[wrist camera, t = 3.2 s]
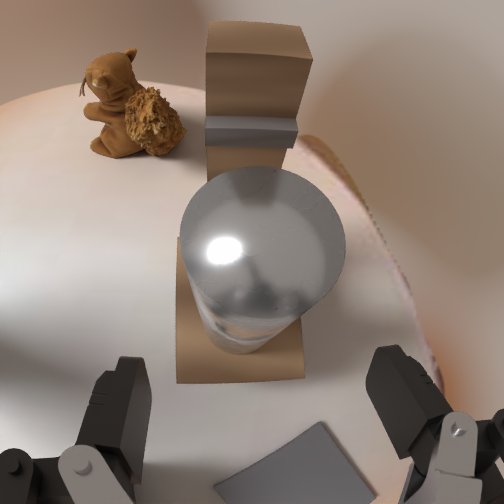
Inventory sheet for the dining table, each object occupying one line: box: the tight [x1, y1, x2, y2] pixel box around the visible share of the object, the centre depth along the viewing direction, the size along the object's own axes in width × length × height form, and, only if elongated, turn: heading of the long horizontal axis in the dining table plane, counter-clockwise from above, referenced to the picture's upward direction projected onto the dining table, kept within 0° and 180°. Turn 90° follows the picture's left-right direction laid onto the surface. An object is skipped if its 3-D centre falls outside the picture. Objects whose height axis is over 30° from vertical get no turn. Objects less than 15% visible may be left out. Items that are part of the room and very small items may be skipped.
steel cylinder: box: [180, 166, 346, 354], centre depth 16 cm, size 5×5×14 cm
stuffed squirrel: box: [79, 48, 187, 158], centre depth 31 cm, size 10×14×13 cm
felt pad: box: [214, 422, 376, 504], centre depth 23 cm, size 12×12×1 cm
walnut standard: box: [176, 21, 313, 384], centre depth 20 cm, size 16×9×24 cm, turn 3°
